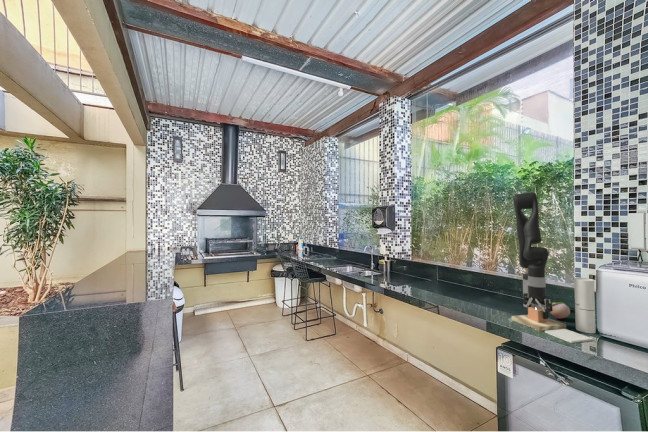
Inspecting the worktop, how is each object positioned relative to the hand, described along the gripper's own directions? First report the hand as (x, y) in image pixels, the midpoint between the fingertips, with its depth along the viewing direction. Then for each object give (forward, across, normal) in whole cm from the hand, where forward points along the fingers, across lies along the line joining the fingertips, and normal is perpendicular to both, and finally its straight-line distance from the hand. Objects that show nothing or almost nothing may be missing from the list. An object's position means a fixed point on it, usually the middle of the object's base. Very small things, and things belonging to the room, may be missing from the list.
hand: (537, 316), depth 146 cm
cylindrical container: (+4, -12, -14) cm, 19 cm away
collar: (+2, 0, 0) cm, 2 cm away
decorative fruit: (+4, +3, -18) cm, 19 cm away
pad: (+4, -16, +1) cm, 17 cm away
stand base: (+4, 0, 0) cm, 4 cm away
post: (+2, 0, 0) cm, 2 cm away
